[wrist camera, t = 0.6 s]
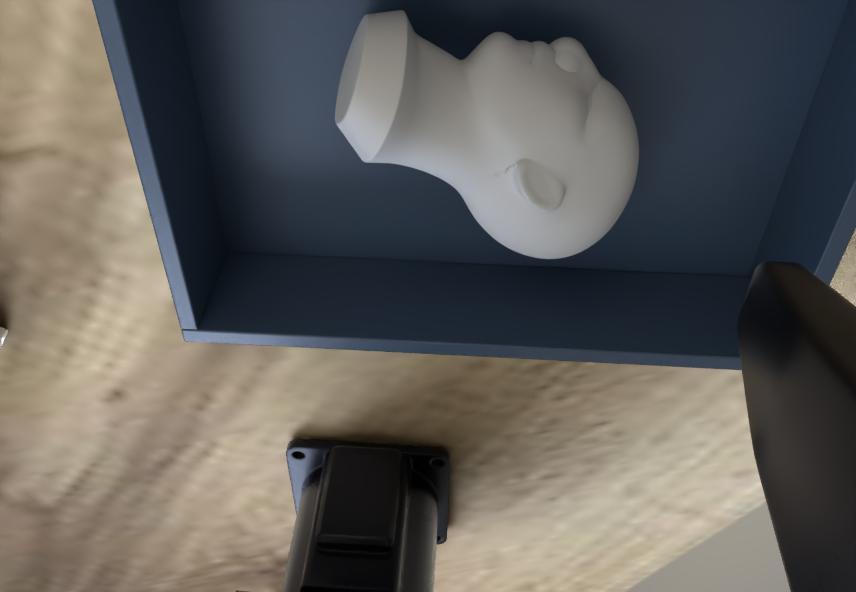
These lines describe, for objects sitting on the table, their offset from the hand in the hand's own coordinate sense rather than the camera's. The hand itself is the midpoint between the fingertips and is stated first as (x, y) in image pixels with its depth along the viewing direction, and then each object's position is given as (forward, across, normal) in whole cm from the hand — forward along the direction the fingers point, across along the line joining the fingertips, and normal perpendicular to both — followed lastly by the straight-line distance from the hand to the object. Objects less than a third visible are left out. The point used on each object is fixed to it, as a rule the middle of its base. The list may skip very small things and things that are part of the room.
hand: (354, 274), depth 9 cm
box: (+13, -2, +4) cm, 14 cm away
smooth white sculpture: (+13, -2, +4) cm, 13 cm away
